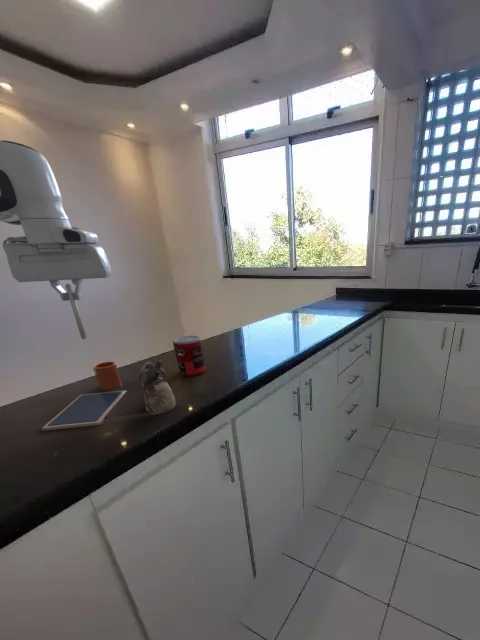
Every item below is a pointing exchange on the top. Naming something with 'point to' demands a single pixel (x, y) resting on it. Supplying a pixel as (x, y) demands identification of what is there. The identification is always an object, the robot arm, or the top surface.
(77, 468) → the top surface
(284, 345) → the top surface
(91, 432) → the top surface
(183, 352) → the canned food
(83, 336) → the stylus
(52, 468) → the top surface
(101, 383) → the pen cup
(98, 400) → the tablet
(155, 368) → the figurine
